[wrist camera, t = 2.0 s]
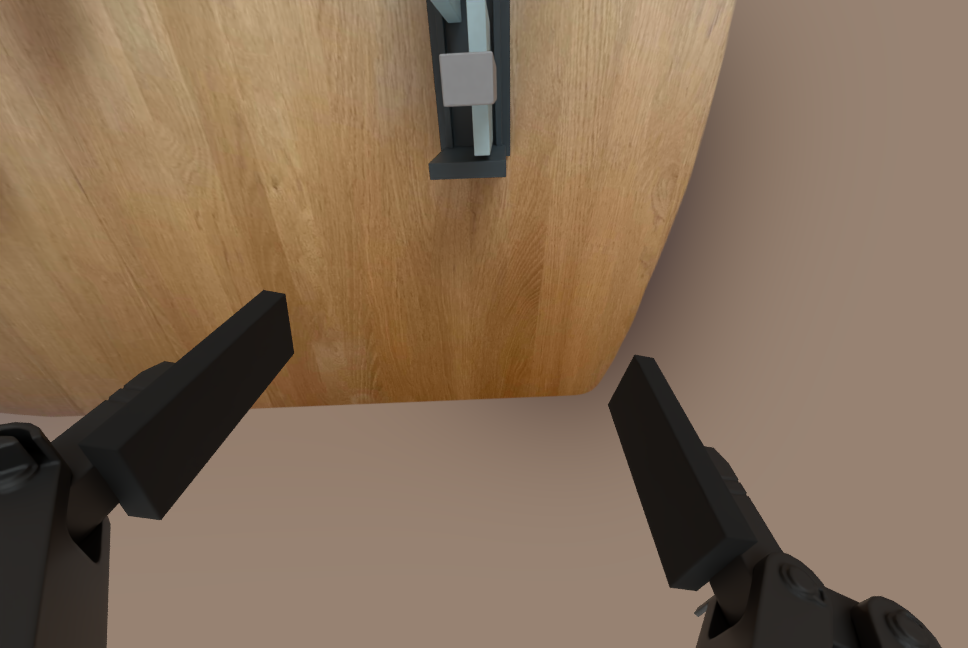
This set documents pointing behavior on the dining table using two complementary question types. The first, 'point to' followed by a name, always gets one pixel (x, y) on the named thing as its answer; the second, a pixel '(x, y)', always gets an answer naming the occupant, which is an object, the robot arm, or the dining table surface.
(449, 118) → the window frame
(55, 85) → the dining table surface
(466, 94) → the pane
